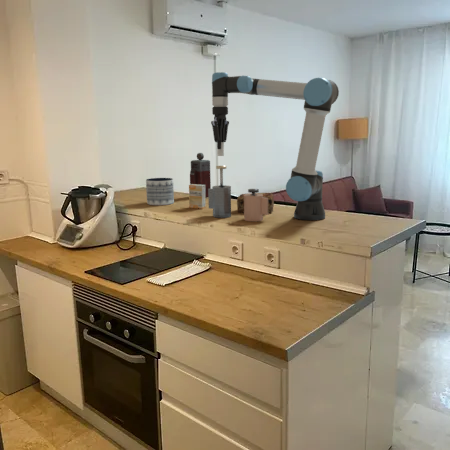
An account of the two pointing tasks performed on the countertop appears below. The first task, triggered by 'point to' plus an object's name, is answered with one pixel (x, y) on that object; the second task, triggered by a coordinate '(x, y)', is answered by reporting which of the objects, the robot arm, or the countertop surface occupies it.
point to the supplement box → (197, 196)
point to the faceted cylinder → (220, 201)
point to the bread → (266, 195)
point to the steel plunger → (221, 174)
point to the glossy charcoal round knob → (253, 191)
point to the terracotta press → (255, 207)
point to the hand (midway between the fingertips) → (220, 155)
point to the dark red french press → (200, 172)
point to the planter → (160, 191)
